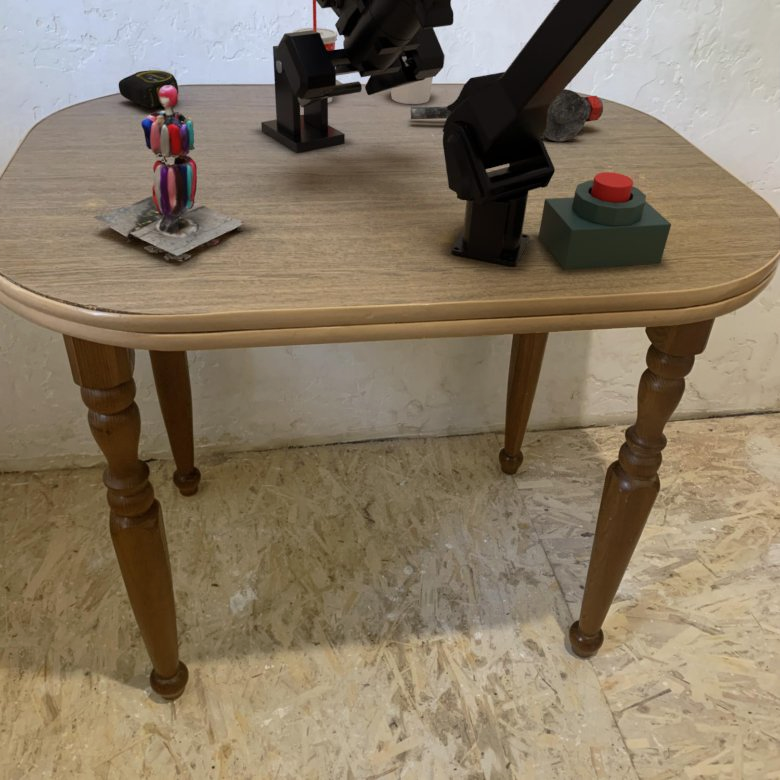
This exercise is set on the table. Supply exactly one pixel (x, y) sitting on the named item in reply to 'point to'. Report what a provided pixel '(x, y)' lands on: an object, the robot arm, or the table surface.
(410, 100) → the white tapered cup
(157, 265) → the table surface
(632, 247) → the button box
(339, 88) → the lever
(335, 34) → the beverage cup
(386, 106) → the table surface
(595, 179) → the button
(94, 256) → the table surface
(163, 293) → the table surface
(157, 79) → the tape measure
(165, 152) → the statue
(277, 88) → the bracket
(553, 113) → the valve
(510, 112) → the robot arm
